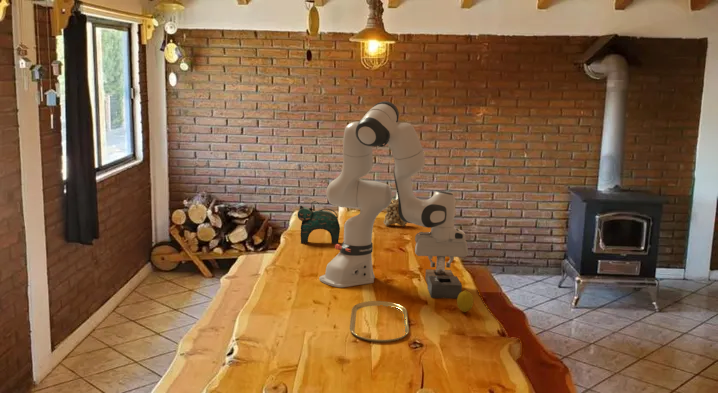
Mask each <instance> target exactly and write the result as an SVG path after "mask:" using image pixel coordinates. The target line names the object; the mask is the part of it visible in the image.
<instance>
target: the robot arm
mask: <svg viewBox="0 0 718 393" xmlns="http://www.w3.org/2000/svg"><path fill="white" fill-rule="evenodd" d="M399 119H400V112H399V109H398V108H397V106H396V105H395V104H394V103H392V102H391V101H387V100H385V101H384V100H383V101H380V102H378V103H376V104H374V105H373V107H371V108H370V109H368V111H367V112H366V113H365V115H363V117H362V118H361V119H360V120H359V121H352V122H350V123H348V124H347V125H346V126H345V128H344V131H343V139H342V160H343V161H342V162H343V163H342V169H341V172H340V174H339V175H338V176H337V177H336V178H335V179H333V180H331V181H330V182H329V184H328V185H327V187H326V191H325V193H326V194H325V195H326V199H327V201H328V202H329V204H330V205H333V206H336V207H339V208H346V209H347V208H349V209H359V214H357V215H356V214H355V215H353V216H351V217H349V218H348V219H347V220H346V221H345V223H344V225H343V242H342V244H339V243H338V244H334V248H335V249H336V250H339V252H338V254H336V256H334V257H333V258H332V259H331V261H329V262H328V263H327V265H326V268H325V273H324V274H322V275H320V276H319V279H318V280H319V281H320V282H322V283H323V284H325V285H328V286H332V287H335V288H347V287H353V286H354V287H355V286H359V285H367V284H374V282H375V274H374V269H373V267H374V266H373V258H372V257H373V256H372V253H373V249H374V247H373V246H374V245H373V242H372V239H373V231H374V230H373V229H374V223H375V220H376V219H377V217H378V216H379V215H380V214H381V212H382V211H384V210H386V208H387V207H388V206H389V205H390V203H391V201H392V200H393V191H392V188H391V187H390V185H389V184H388V183H384V182H381V181H377V180H364V179H363V180H361V179H360V178H363V177H365V176H366V175H368V174H369V173H370V172H371V171H372V169H373V166H374V164H373V162H374V161H373V160H374V158H373V157H374V156H373V147H380V148H383V147H385V146H387V145H388V146H389V148H390V150H391V154H392V158H393V161H394V167H393V177H394V184H395V189H396V194H397V199H398V213H399V216H400V218H401V219H402V220H403V221H404V222H407V224H414V225H417V226H419V227H423V228H426V229H427V228H429V229H430V231H425V232H423V231H420V232H417V233H416V234H415V237H414V240H415V248H414V253H415V255H416V256H418V257H427V258H428V260H429V262H430V268H435V267H436V262H435V261H433V260H432V259H433V258H434V257H437V256H444V257H445V258H446V257H447V258H449V260H448V261H445V268H446V269H447V268H451V264H452V262H453V261H454V258H466V257H467V256H468V253H469V252H468V250H469V248H468V242H467V241H466V236H467V235H466V233H465V231H463V230H462V229H459V228H456V227H455V221H454V220H455V216H456V199H455V194H453V193H451V192H448V191H443V190H436V191H434V193H433V195H432V196H431V197H430V198H428V199H426V200H423V199H419V197H417V196H416V195H415V194H414V190H413V184H412V177H413V176H415V175H416V174H418V173H420V172H421V170H423V168H424V166H425V164H426V157H425V153H424V149H423V146H422V142H421V139H420V137H419V135H418V133H417V131H416V129H415V127H414V125H412V124H411V123H409V122H399ZM392 202H393V201H392Z"/></svg>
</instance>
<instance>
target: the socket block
mask: <svg viewBox="0 0 718 393" xmlns="http://www.w3.org/2000/svg"><path fill="white" fill-rule="evenodd" d="M424 275H425V279H424V280H425V282H426V284H427V286H428V276H455V275H454V273H453V270H451V269H444V275H436V269H428V268H427V269H425V274H424Z"/></svg>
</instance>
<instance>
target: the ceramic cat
mask: <svg viewBox="0 0 718 393" xmlns="http://www.w3.org/2000/svg"><path fill="white" fill-rule="evenodd" d="M313 203H316V204H318V205H320V203H319V202H318V201H316V200H315V201H312V202H311V204H310V207H308V206H303V205H300V206H299V209H298V212H297V219H298V220H300V221H301V225H300V244H308V243H309V237H310V235H311V233H312V232H313V231H315V230H324V231H326V232H328V233H329V234H330V240H331V244H334V245H336V244H339V240H340V232H341V231H340V230H341V225H340V223H339V219H338V217H339V216H338V214H337V213H336V211H335V210H333V209H331V208H322V209H318V210H316V209H313V206H312V205H313Z"/></svg>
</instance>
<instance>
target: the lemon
mask: <svg viewBox="0 0 718 393" xmlns="http://www.w3.org/2000/svg"><path fill="white" fill-rule="evenodd" d="M456 304H457V305H456V306H457V308H458V309H459V310H460V311H462V312H463V313H466V312H469V311H470V310H472V308H473V306H474V297H473V294H472V293H471V292H470V291H468V290H467V289H464V290H463V291H462V292H461V293H460V294H459V295H458V298H456Z"/></svg>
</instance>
